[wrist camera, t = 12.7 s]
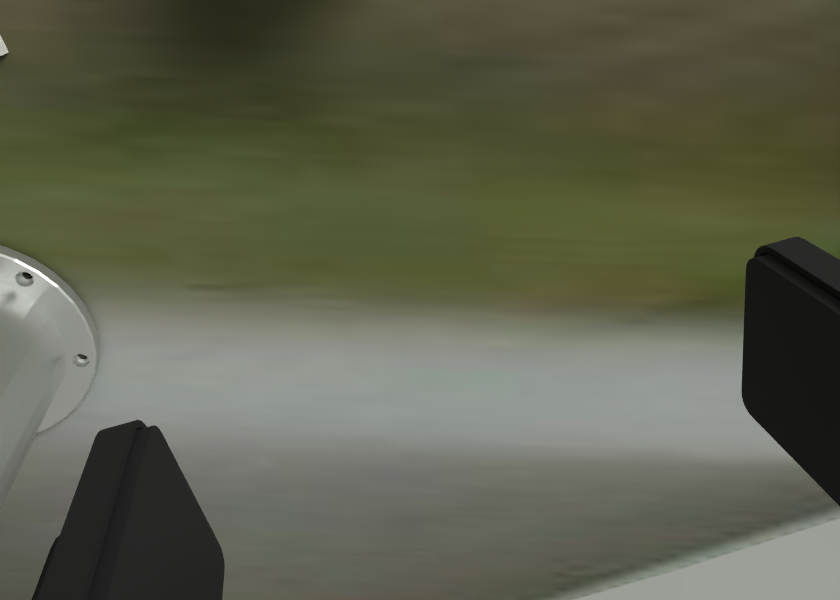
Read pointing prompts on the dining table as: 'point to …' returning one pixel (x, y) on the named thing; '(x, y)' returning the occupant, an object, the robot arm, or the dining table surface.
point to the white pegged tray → (2, 47)
